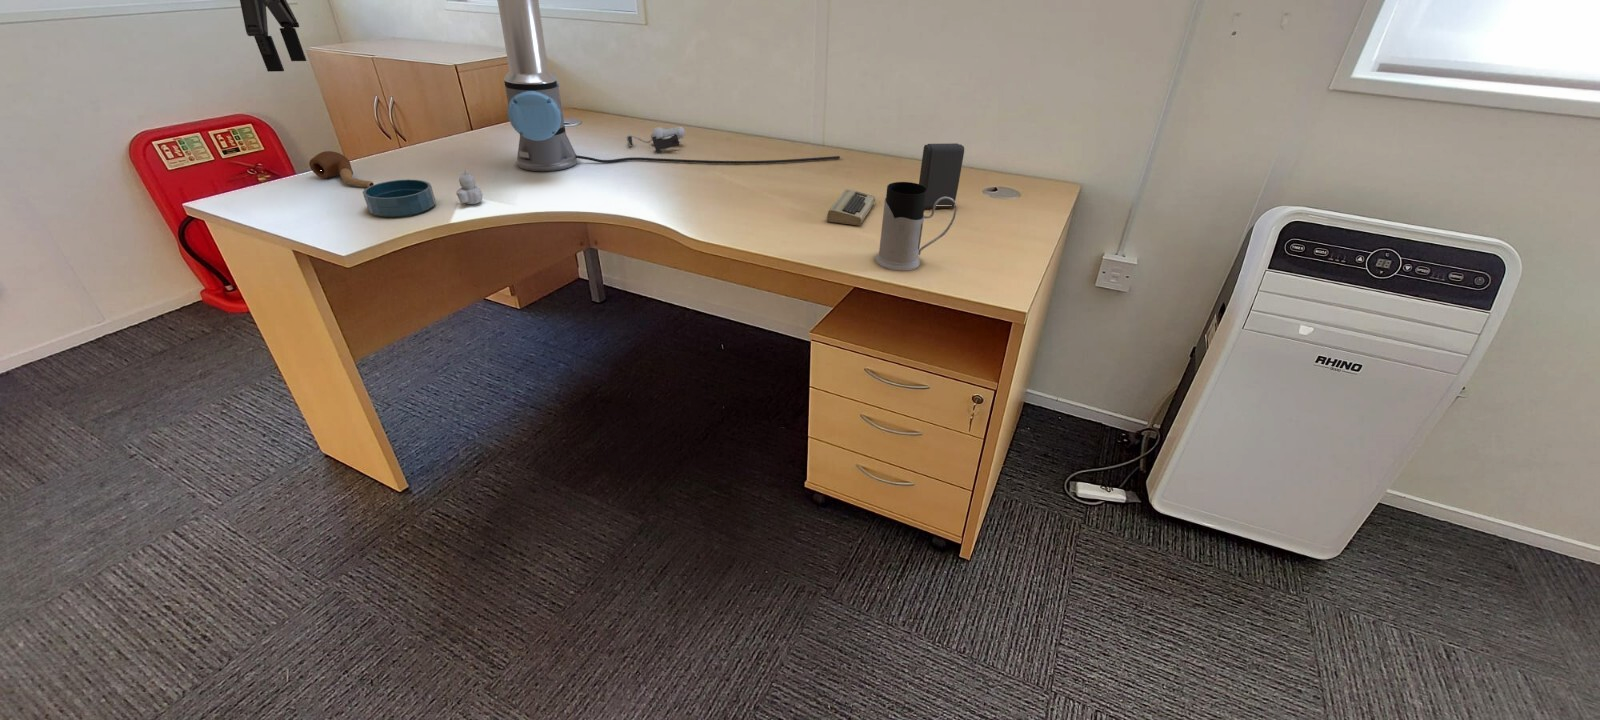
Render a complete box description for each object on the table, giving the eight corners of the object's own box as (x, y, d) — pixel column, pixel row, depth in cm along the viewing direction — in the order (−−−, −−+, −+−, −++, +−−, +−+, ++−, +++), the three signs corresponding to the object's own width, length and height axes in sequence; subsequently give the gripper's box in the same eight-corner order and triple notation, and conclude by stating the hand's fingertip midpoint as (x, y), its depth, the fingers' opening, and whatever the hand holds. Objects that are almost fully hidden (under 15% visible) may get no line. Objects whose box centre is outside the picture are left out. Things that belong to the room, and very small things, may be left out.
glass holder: (875, 251, 133) (883, 179, 125) (944, 256, 132) (957, 184, 124) (876, 268, 125) (884, 193, 117) (949, 274, 125) (962, 198, 116)
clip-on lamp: (623, 160, 191) (680, 151, 187) (615, 139, 187) (673, 129, 183) (635, 146, 200) (689, 137, 196) (628, 126, 196) (683, 116, 193)
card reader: (950, 203, 159) (960, 142, 151) (956, 209, 156) (966, 146, 148) (914, 204, 158) (923, 142, 150) (920, 210, 155) (929, 146, 146)
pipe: (340, 170, 165) (332, 146, 162) (392, 182, 158) (384, 158, 155) (311, 178, 159) (302, 153, 156) (364, 190, 153) (355, 165, 149)
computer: (861, 227, 144) (862, 212, 142) (826, 222, 146) (827, 208, 144) (874, 205, 157) (876, 191, 155) (842, 200, 159) (843, 187, 157)
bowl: (440, 196, 151) (435, 178, 149) (430, 216, 140) (425, 196, 138) (377, 200, 148) (371, 181, 145) (362, 220, 137) (355, 200, 135)
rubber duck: (490, 200, 150) (482, 166, 146) (472, 210, 144) (463, 175, 140) (470, 198, 151) (461, 164, 146) (451, 207, 145) (441, 172, 141)
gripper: (248, -54, 135) (288, 57, 146) (190, -52, 115) (243, 76, 126) (289, -52, 137) (326, 56, 148) (240, -50, 117) (287, 75, 128)
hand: (288, 66), depth 137 cm, fingers open, 13 cm apart
